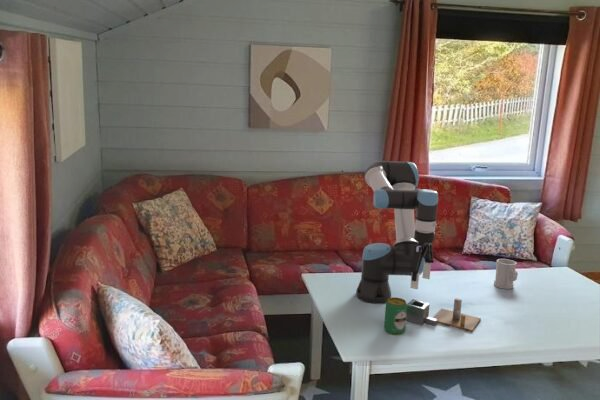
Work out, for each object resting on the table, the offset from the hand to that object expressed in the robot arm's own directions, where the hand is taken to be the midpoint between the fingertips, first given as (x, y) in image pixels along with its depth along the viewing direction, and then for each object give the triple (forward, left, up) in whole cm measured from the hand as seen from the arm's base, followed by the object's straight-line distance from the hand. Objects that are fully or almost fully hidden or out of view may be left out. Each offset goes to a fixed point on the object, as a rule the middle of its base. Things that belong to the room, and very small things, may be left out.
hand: (420, 283), depth 213 cm
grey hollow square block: (+2, 0, -16) cm, 16 cm away
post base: (+13, +9, -16) cm, 22 cm away
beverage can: (-4, -14, -16) cm, 21 cm away
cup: (+21, +62, -16) cm, 67 cm away
